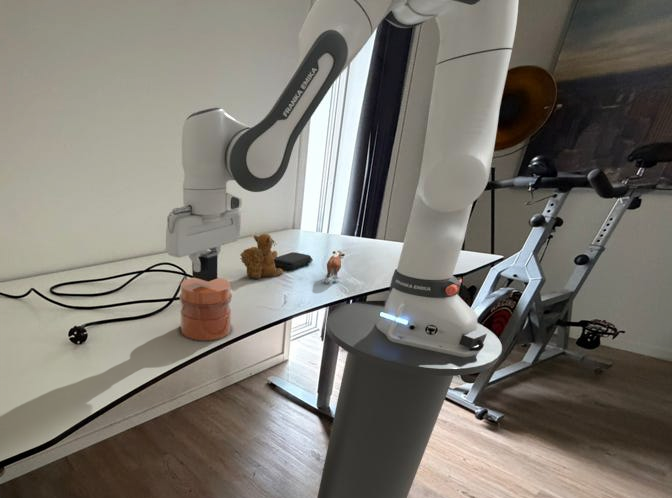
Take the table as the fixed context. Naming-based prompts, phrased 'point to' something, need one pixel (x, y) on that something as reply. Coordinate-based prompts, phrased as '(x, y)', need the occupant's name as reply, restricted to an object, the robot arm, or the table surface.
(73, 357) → the table surface
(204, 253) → the black block
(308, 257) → the carrying case
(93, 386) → the table surface
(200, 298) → the orange short cylinder
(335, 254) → the bull figurine
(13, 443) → the table surface
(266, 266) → the stuffed squirrel
